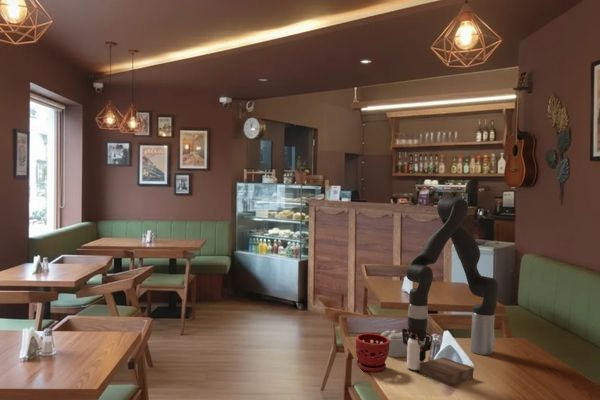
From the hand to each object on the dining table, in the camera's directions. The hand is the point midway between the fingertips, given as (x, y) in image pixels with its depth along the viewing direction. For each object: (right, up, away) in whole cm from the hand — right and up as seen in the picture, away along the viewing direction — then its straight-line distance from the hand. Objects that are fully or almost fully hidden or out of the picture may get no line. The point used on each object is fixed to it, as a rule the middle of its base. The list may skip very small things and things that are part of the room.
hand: (416, 358), depth 209 cm
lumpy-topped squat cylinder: (-6, -4, +21) cm, 22 cm away
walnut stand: (+10, -5, -6) cm, 13 cm away
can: (0, -4, +1) cm, 4 cm away
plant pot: (-18, -4, 0) cm, 18 cm away
